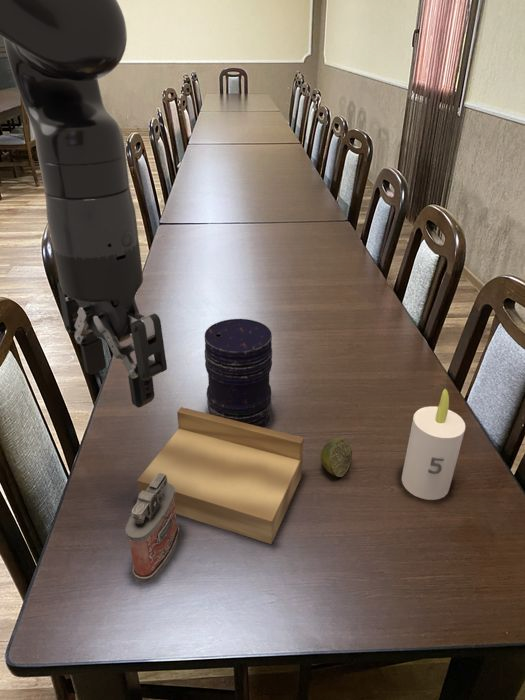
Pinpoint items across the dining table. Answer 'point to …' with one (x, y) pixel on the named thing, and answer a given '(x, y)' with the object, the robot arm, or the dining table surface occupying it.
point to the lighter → (153, 529)
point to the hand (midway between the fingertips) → (119, 386)
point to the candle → (433, 450)
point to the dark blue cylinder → (239, 370)
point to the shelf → (229, 473)
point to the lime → (336, 456)
